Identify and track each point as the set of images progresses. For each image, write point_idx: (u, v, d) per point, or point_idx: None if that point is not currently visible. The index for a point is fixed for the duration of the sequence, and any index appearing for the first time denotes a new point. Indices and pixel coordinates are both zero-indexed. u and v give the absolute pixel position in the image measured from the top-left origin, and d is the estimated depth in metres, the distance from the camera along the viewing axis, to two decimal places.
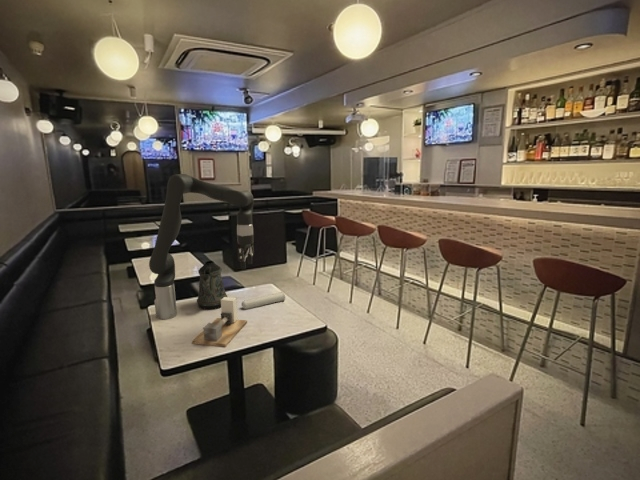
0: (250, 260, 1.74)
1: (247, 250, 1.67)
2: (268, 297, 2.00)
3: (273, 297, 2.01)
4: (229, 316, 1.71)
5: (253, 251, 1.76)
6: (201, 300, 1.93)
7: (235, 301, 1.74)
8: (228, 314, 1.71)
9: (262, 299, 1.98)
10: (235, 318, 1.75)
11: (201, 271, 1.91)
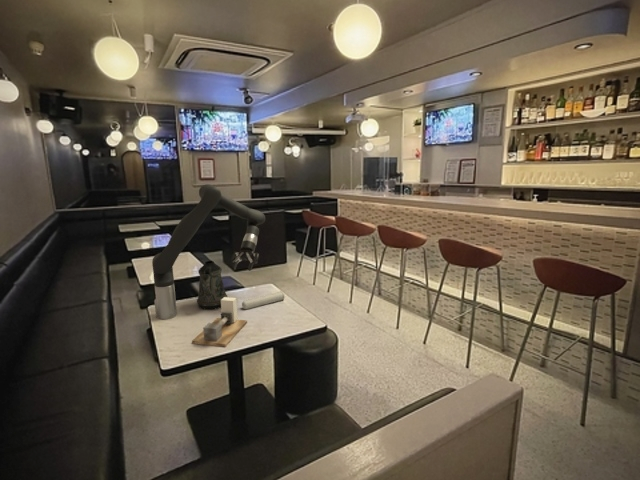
0: (236, 266, 1.89)
1: None
2: (268, 297, 2.00)
3: (273, 297, 2.01)
4: (229, 316, 1.71)
5: (234, 260, 1.92)
6: (201, 300, 1.93)
7: (235, 301, 1.74)
8: (228, 314, 1.71)
9: (262, 299, 1.98)
10: (235, 318, 1.75)
11: (201, 271, 1.91)
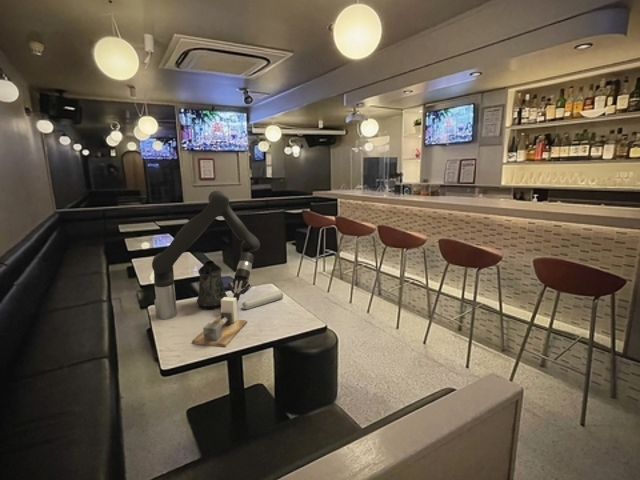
0: (236, 297, 1.83)
1: (244, 286, 1.87)
2: (267, 296, 2.01)
3: (272, 296, 2.03)
4: (229, 316, 1.71)
5: None
6: (201, 300, 1.93)
7: (235, 301, 1.74)
8: (228, 314, 1.71)
9: (262, 298, 1.98)
10: (235, 318, 1.75)
11: (201, 271, 1.91)
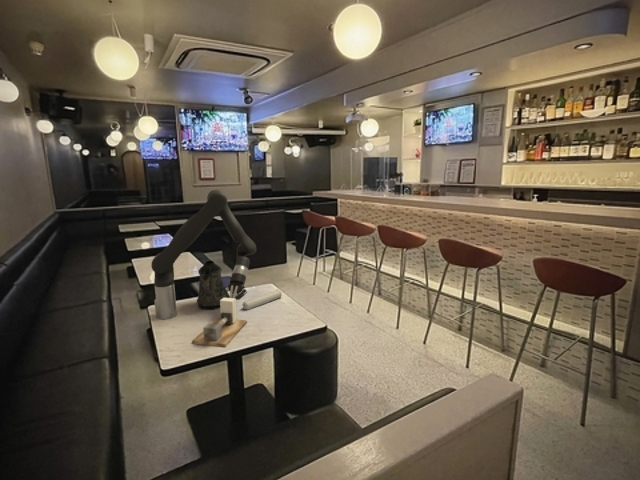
0: None
1: None
2: (267, 296, 2.02)
3: (271, 295, 2.04)
4: (229, 316, 1.71)
5: None
6: (201, 300, 1.93)
7: (234, 302, 1.73)
8: (228, 314, 1.71)
9: (262, 298, 1.99)
10: (234, 319, 1.74)
11: (201, 271, 1.91)
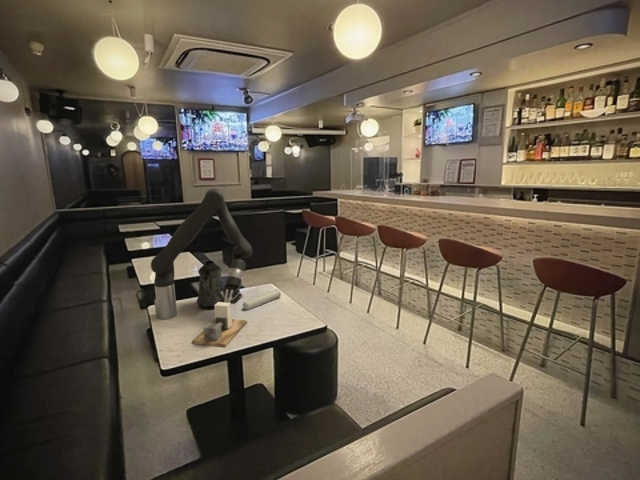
0: None
1: None
2: (266, 295, 2.02)
3: (271, 295, 2.04)
4: (224, 321, 1.65)
5: None
6: (201, 300, 1.93)
7: (229, 306, 1.68)
8: (223, 319, 1.65)
9: (262, 298, 1.99)
10: (229, 324, 1.68)
11: (201, 271, 1.91)
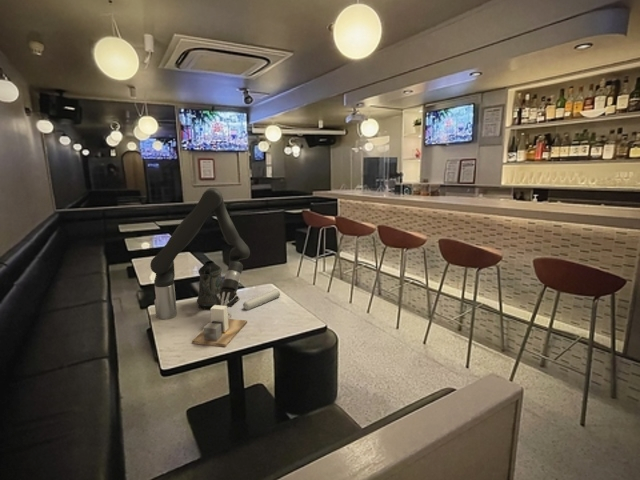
0: None
1: None
2: (266, 295, 2.02)
3: (270, 295, 2.04)
4: None
5: None
6: (201, 300, 1.93)
7: (226, 309, 1.64)
8: (219, 322, 1.62)
9: (261, 298, 1.99)
10: (226, 327, 1.65)
11: (201, 271, 1.91)
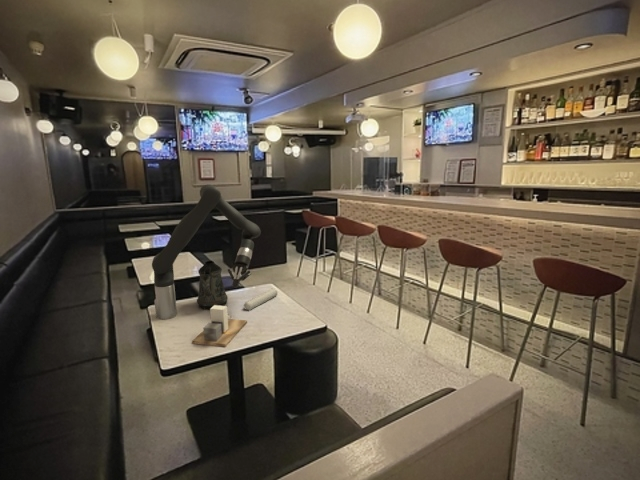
0: None
1: None
2: (265, 295, 2.03)
3: (269, 294, 2.05)
4: None
5: None
6: (201, 300, 1.93)
7: (226, 310, 1.64)
8: (219, 323, 1.61)
9: (261, 297, 2.00)
10: (226, 328, 1.65)
11: (201, 271, 1.91)
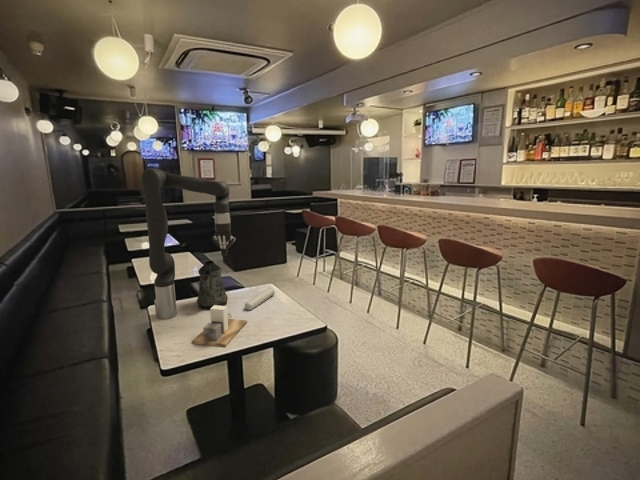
0: None
1: None
2: (264, 294, 2.04)
3: (267, 294, 2.06)
4: None
5: (219, 243, 1.81)
6: (201, 300, 1.93)
7: (226, 310, 1.64)
8: (219, 323, 1.61)
9: (261, 297, 2.00)
10: (226, 328, 1.65)
11: (201, 271, 1.91)
